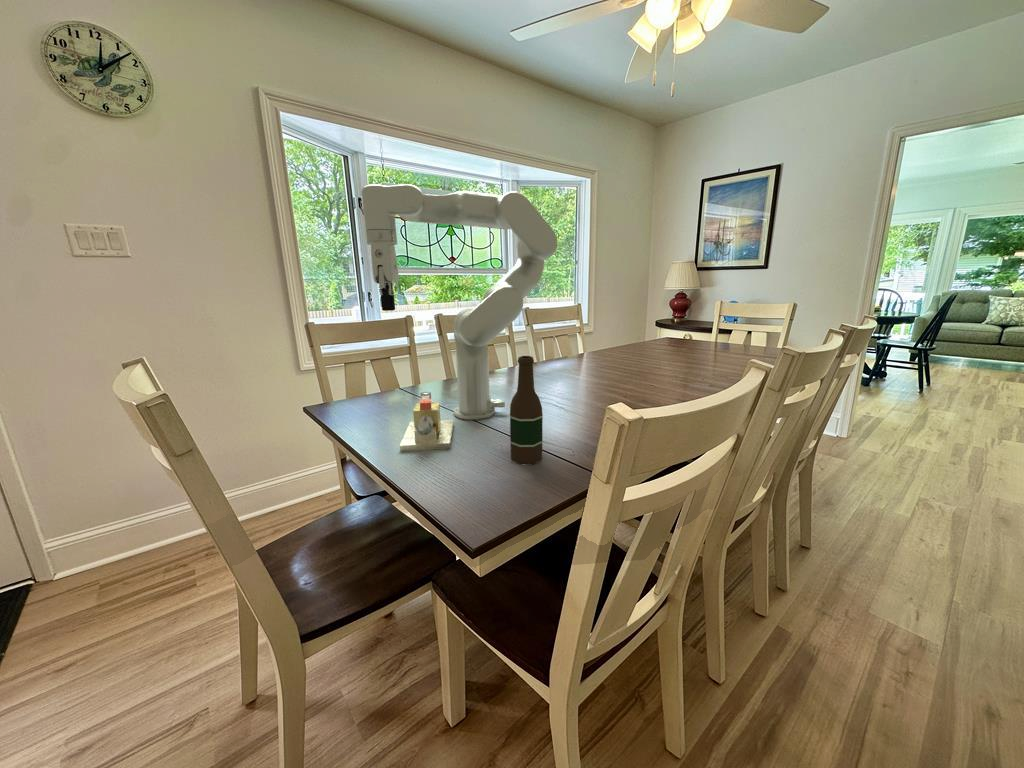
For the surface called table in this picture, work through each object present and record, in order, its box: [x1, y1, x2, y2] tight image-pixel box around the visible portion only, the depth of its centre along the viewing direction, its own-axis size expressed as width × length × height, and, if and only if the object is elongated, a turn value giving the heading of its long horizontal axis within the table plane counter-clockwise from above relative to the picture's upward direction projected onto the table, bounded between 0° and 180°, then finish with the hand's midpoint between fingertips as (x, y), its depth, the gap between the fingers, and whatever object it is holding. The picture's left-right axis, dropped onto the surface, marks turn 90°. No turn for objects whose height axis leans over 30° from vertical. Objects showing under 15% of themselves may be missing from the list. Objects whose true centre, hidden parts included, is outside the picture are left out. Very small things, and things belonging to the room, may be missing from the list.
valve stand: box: [399, 401, 454, 452], centre depth 103 cm, size 12×16×10 cm
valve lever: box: [419, 391, 432, 411], centre depth 98 cm, size 10×3×2 cm, turn 11°
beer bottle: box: [509, 355, 544, 465], centre depth 89 cm, size 8×8×24 cm
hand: (388, 310), depth 107 cm, fingers closed
